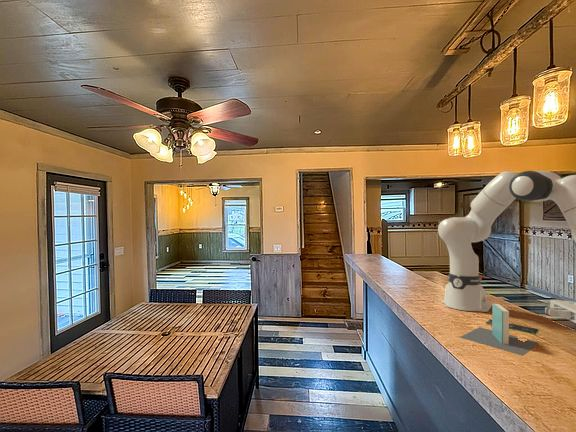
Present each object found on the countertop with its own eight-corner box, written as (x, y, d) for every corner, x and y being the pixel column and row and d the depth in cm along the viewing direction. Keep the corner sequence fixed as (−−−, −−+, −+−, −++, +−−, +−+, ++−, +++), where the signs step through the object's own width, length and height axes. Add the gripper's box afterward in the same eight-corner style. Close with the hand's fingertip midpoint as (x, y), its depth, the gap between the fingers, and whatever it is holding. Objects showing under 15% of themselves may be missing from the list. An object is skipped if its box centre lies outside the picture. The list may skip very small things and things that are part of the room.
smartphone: (489, 318, 122) (539, 329, 111) (489, 321, 122) (539, 331, 111) (484, 323, 116) (535, 334, 106) (484, 325, 116) (535, 337, 106)
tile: (498, 334, 106) (498, 304, 106) (508, 344, 97) (509, 311, 97) (492, 333, 106) (492, 303, 106) (501, 343, 97) (502, 311, 98)
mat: (479, 328, 113) (479, 327, 113) (539, 343, 99) (539, 342, 99) (459, 338, 103) (459, 337, 103) (522, 357, 89) (522, 355, 89)
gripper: (581, 296, 104) (531, 293, 108) (628, 314, 84) (565, 309, 88) (582, 316, 104) (532, 312, 108) (628, 338, 84) (565, 332, 88)
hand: (547, 311), depth 98 cm, fingers closed
